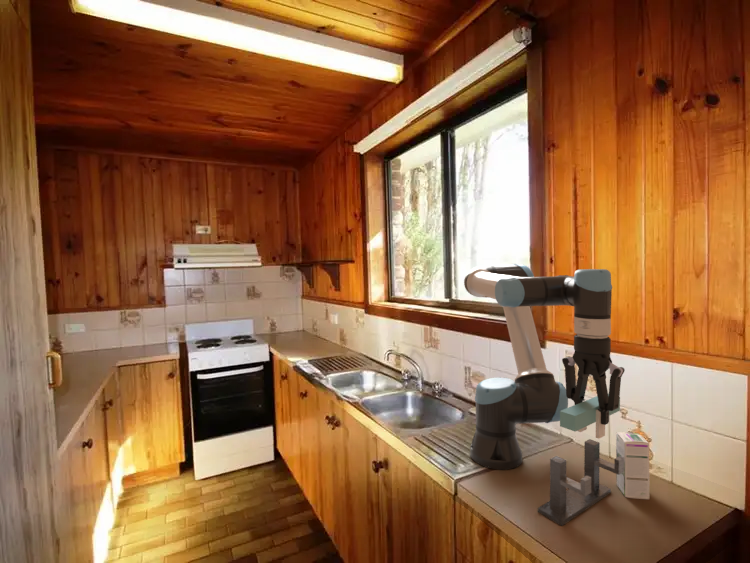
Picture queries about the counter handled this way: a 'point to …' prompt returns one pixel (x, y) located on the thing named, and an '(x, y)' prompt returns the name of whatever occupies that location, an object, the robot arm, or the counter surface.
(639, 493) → the syrup box
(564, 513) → the rack
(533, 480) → the counter surface
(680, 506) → the counter surface
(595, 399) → the block
